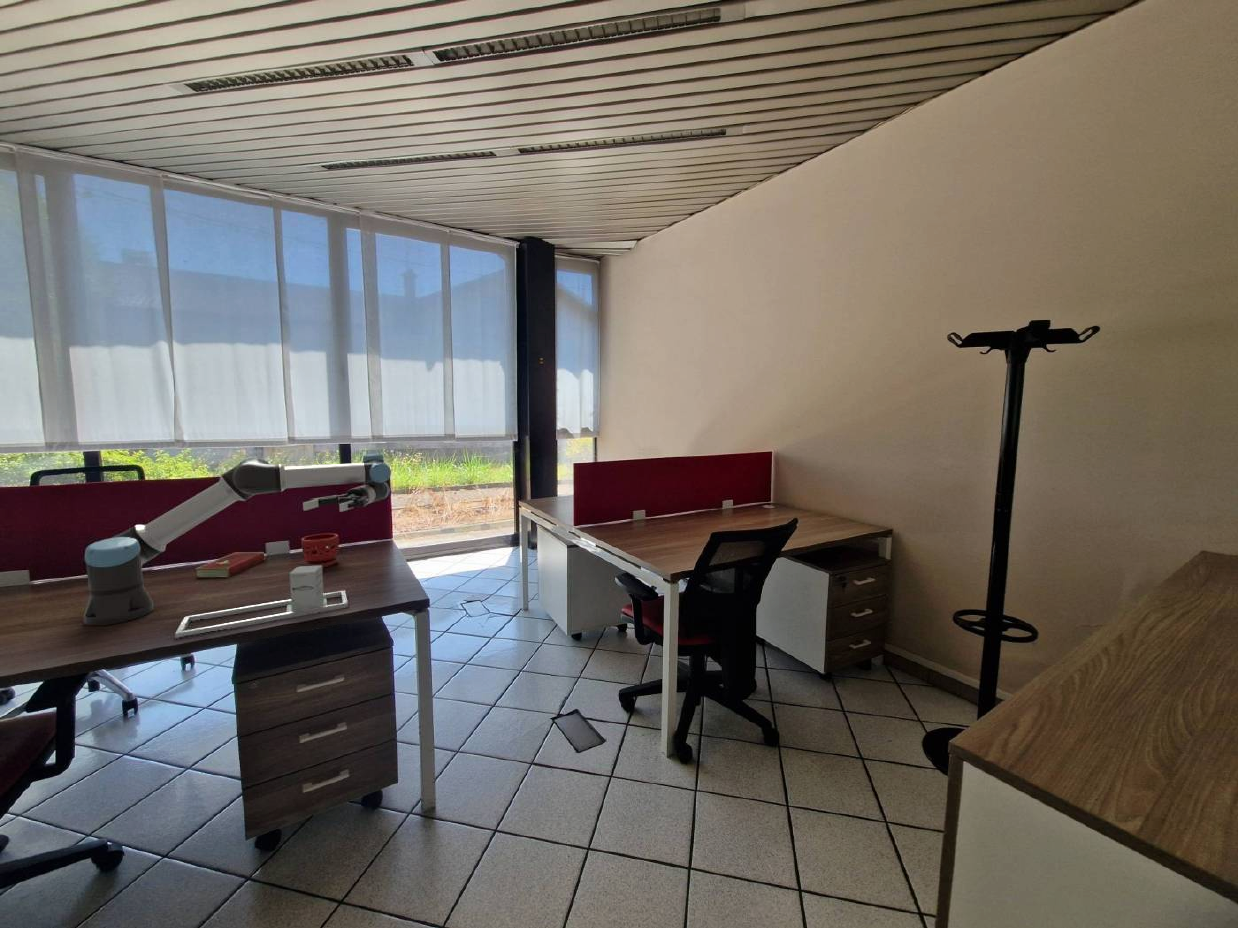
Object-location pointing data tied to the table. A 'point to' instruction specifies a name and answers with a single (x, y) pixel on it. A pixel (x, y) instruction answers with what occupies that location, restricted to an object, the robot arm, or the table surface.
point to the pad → (289, 609)
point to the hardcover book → (230, 564)
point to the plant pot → (320, 549)
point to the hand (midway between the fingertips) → (322, 507)
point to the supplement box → (306, 587)
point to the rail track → (187, 619)
